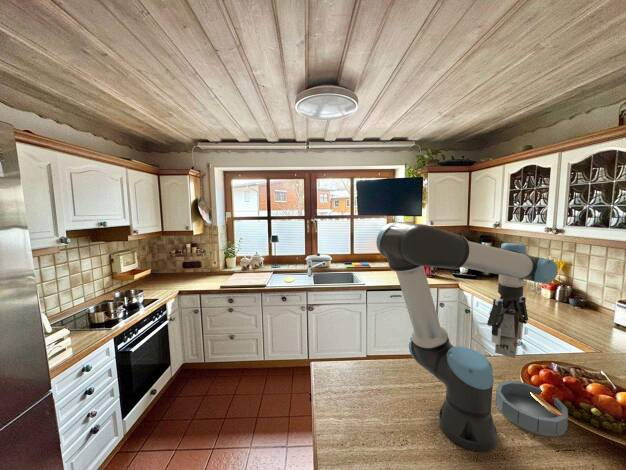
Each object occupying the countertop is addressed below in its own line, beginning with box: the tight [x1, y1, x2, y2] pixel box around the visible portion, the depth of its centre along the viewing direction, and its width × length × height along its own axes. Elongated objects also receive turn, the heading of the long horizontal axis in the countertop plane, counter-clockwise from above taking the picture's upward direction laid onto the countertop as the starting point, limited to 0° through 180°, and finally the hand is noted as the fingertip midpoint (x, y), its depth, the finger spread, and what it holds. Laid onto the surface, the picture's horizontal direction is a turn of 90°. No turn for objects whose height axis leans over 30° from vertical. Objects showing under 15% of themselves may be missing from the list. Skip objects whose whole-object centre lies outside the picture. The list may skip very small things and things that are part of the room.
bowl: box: [495, 380, 569, 438], centre depth 85 cm, size 17×17×5 cm
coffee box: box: [494, 307, 520, 359], centre depth 100 cm, size 9×6×16 cm
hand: (506, 340), depth 101 cm, fingers closed on coffee box, 11 cm apart
